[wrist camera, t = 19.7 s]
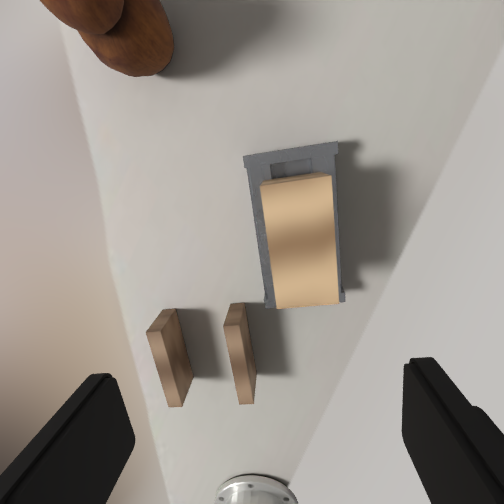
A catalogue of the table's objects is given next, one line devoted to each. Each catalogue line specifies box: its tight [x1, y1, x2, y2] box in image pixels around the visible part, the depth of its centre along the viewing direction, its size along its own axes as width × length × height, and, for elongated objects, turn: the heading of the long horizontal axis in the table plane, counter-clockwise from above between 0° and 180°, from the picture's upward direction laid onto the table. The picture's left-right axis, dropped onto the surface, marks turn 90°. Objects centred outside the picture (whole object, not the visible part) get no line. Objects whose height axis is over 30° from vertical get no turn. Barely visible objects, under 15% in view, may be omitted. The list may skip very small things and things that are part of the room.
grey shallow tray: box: [243, 141, 345, 309], centre depth 27 cm, size 15×8×3 cm, turn 8°
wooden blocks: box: [146, 303, 257, 407], centre depth 32 cm, size 10×10×4 cm
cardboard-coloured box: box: [260, 172, 339, 309], centre depth 23 cm, size 10×5×5 cm, turn 9°
